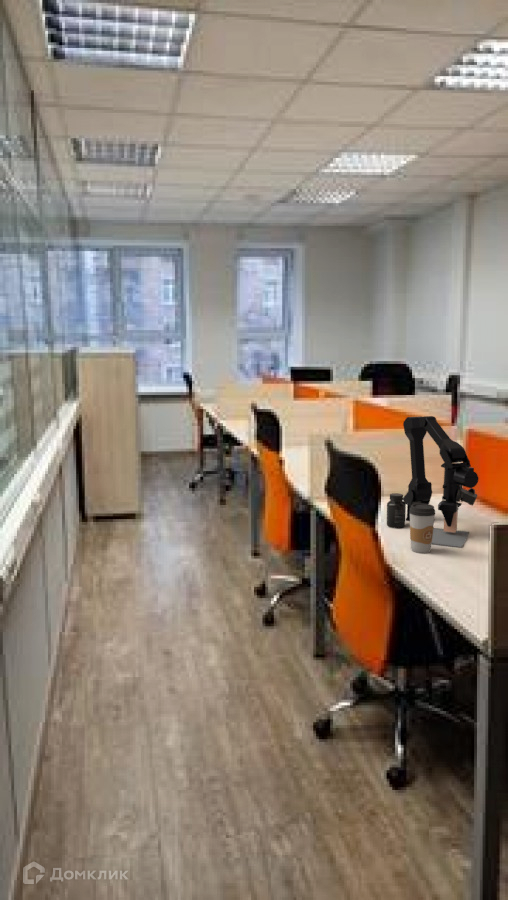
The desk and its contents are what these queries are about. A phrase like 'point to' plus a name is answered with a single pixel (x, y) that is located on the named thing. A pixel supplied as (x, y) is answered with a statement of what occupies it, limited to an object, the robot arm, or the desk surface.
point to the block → (453, 525)
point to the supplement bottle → (396, 511)
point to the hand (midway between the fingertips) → (450, 524)
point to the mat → (449, 538)
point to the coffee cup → (421, 527)
